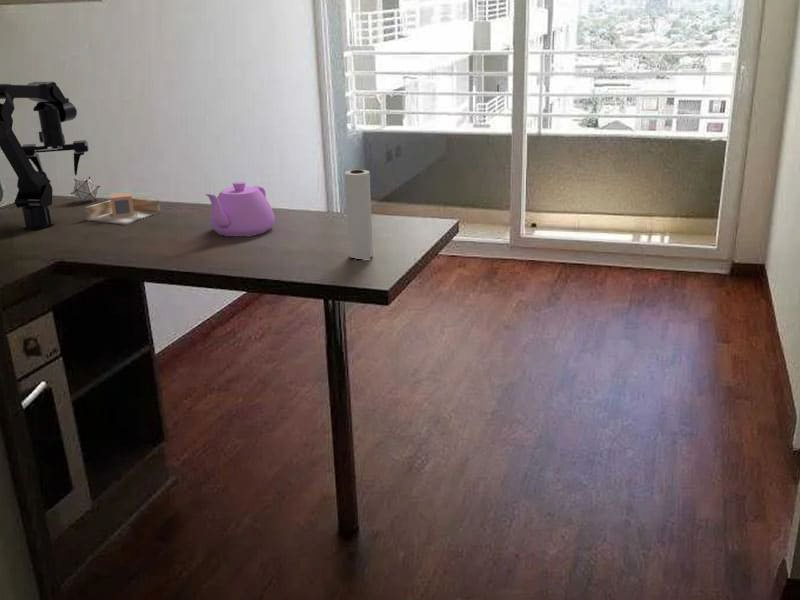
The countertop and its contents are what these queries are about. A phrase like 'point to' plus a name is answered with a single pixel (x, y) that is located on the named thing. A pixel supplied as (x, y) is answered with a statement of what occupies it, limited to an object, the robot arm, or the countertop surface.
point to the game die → (85, 189)
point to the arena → (140, 208)
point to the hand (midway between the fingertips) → (59, 176)
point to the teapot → (241, 211)
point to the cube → (121, 204)
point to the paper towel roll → (359, 213)
